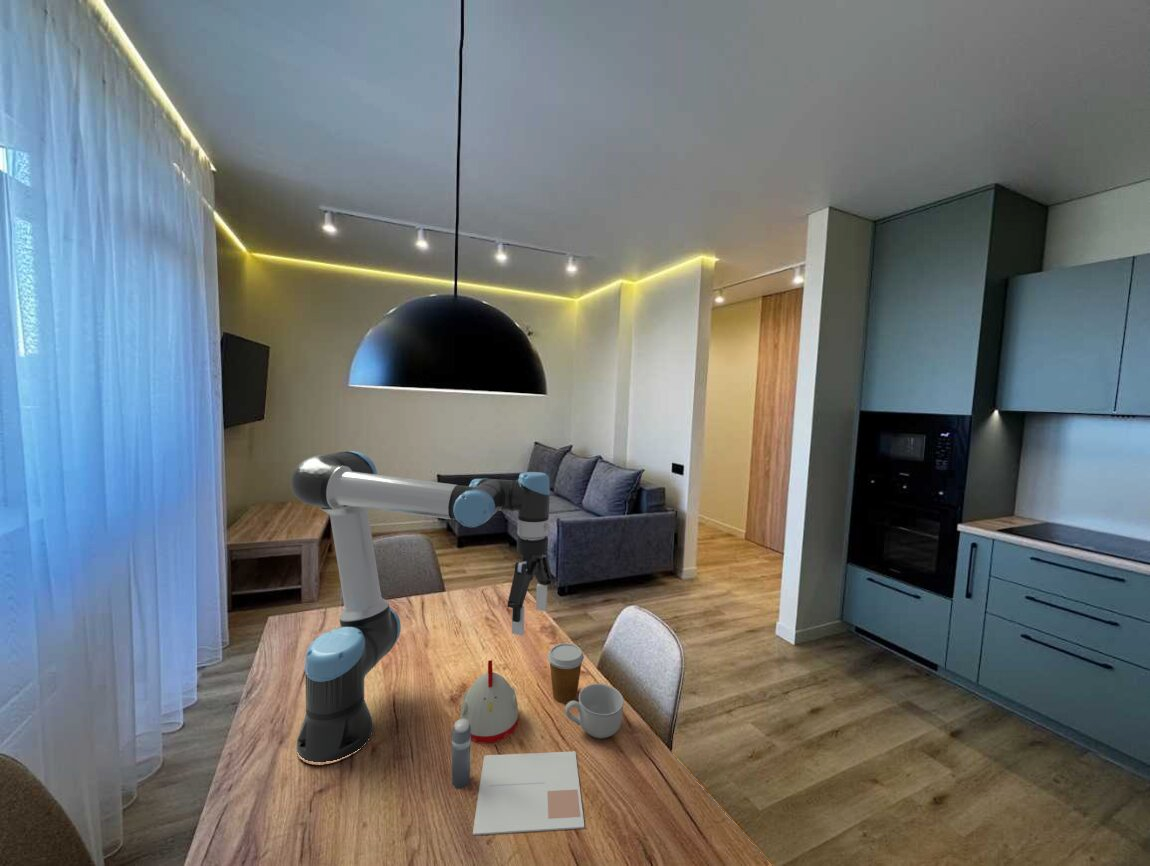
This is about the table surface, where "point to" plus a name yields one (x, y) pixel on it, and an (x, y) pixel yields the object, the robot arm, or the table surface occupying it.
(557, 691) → the disposable coffee cup
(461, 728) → the marker
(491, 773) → the paper
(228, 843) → the table surface
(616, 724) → the teacup
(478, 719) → the kitchen timer
